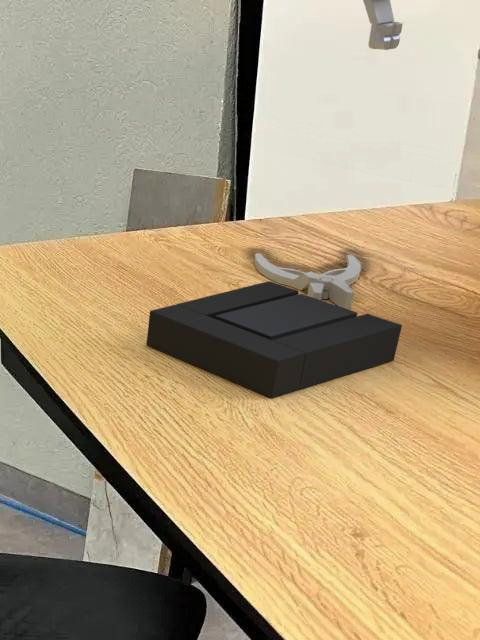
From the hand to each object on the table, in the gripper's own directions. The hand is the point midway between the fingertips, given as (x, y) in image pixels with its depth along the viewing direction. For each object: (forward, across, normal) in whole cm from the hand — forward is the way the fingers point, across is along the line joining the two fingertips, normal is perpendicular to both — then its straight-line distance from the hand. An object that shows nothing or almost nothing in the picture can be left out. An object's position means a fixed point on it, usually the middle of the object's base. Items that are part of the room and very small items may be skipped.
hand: (435, 54), depth 85 cm
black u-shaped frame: (+22, +3, +10) cm, 24 cm away
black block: (+22, +3, +9) cm, 24 cm away
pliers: (+22, +13, -7) cm, 27 cm away
